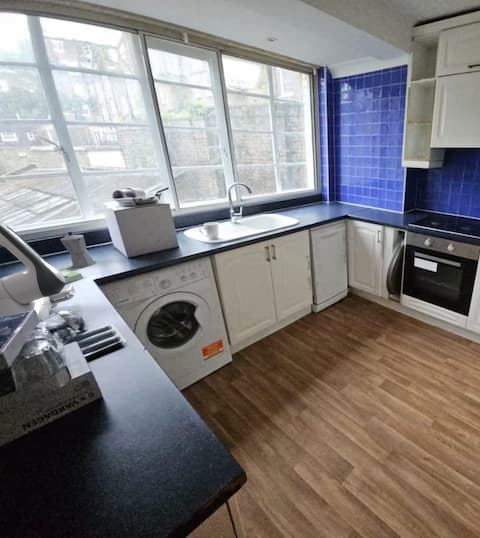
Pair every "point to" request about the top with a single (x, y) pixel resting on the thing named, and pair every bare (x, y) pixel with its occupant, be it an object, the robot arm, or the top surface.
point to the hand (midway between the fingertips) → (39, 292)
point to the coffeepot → (77, 250)
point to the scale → (70, 275)
